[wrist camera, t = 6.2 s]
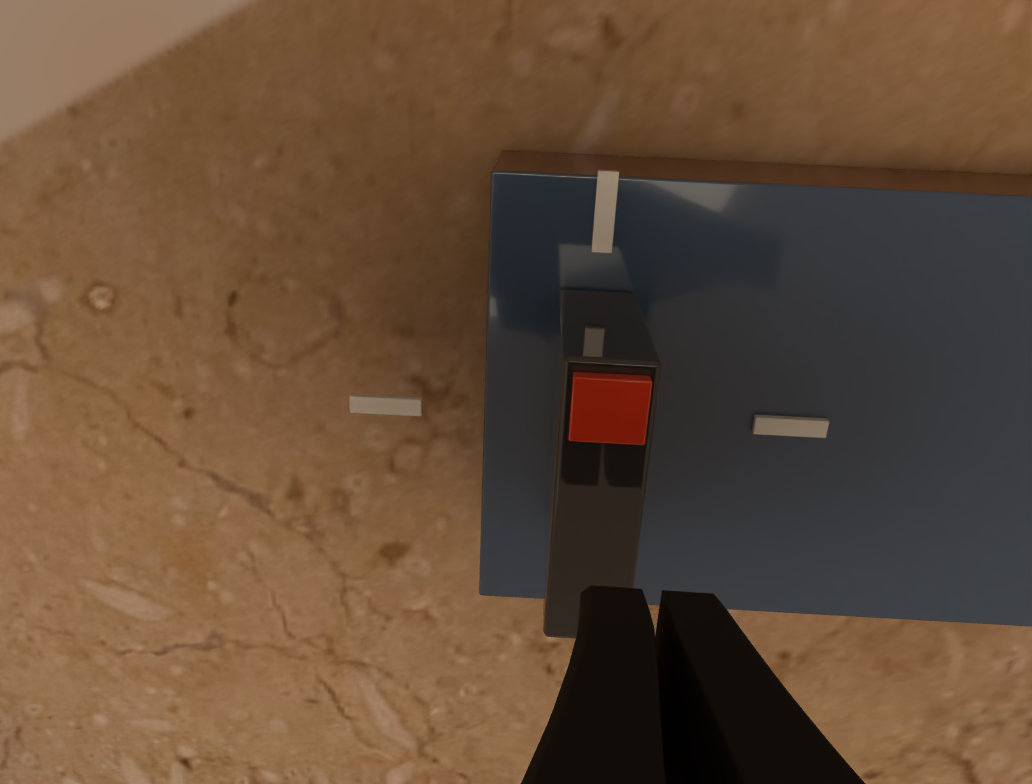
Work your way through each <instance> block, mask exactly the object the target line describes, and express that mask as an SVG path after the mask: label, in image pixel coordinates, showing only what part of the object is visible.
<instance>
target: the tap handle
mask: <svg viewBox="0 0 1032 784" xmlns="http://www.w3.org/2000/svg"><path fill="white" fill-rule="evenodd" d="M660 374H661V363H660V360H659V357H658V354H657V352H656V349H655V346H654V343H653V341H652V338H651V335H650V332H649V330H648V327H647V324H646V321H645V319H644V316H643V313H642V310H641V308H640V305H639V302H638V299H637V297H636V294H633V293H623V292H604V291H584V290H562V291H561V292H560V293H559V304H558V319H557V334H556V349H555V364H554V379H553V394H552V409H551V424H550V438H549V453H548V468H547V483H546V498H545V513H544V599H543V631H544V634H545V636H548V637H559V638H576V636H577V626H578V615H579V604H580V593H581V592H582V591H584V590H585V589H586V588H588V587H589V586H591V585H594V586H609V587H624V588H634V581H635V573H636V565H637V557H638V549H639V541H640V533H641V525H642V517H643V510H644V502H645V494H646V486H647V478H648V470H649V462H650V454H651V446H652V438H653V430H654V422H655V414H656V406H657V398H658V390H659V382H660Z"/></svg>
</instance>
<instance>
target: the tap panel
mask: <svg viewBox="0 0 1032 784" xmlns="http://www.w3.org/2000/svg"><path fill="white" fill-rule="evenodd" d="M562 290H584V291H604V292H623V293H633V294H636V297H637V299H638V302H639V305H640V308H641V310H642V313H643V316H644V319H645V321H646V324H647V327H648V330H649V332H650V335H651V338H652V341H653V343H654V346H655V349H656V352H657V354H658V357H659V360H660V363H661V374H660V382H659V390H658V398H657V406H656V414H655V422H654V430H653V438H652V446H651V454H650V462H649V470H648V478H647V486H646V494H645V502H644V510H643V517H642V525H641V533H640V541H639V549H638V557H637V565H636V573H635V581H634V588H639V589H642V590H643V593H644V596H645V599H646V602H647V604H648V605H660V599H661V592H662V590H669V591H684V592H699V593H714V594H715V596H716V597H717V598H718V599H719V600H720V601H721V603H722V604H723V605H724V607H725V608H726V609H733V610H750V611H768V612H785V613H803V614H821V615H838V616H856V617H873V618H891V619H909V620H926V621H944V622H961V623H979V624H997V625H1014V626H1032V176H1031V175H1010V174H989V173H968V172H947V171H926V170H905V169H884V168H863V167H842V166H821V165H800V164H779V163H758V162H737V161H716V160H695V159H674V158H653V157H632V156H611V155H590V154H569V153H548V152H527V151H506V150H502V151H501V152H500V154H499V156H498V159H497V161H496V163H495V165H494V167H493V170H492V172H491V192H490V228H489V263H488V299H487V334H486V370H485V405H484V441H483V476H482V511H481V547H480V582H479V593H480V595H486V596H504V597H522V598H539V599H544V513H545V498H546V483H547V468H548V453H549V438H550V424H551V409H552V394H553V379H554V364H555V349H556V334H557V319H558V304H559V293H560V292H561V291H562ZM349 403H350V413H366V414H385V415H403V416H422V413H423V398H422V397H414V396H395V395H376V394H357V393H351V394H350V396H349Z"/></svg>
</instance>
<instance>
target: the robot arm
mask: <svg viewBox="0 0 1032 784" xmlns="http://www.w3.org/2000/svg"><path fill="white" fill-rule="evenodd" d="M521 784H865V783H864V782H863V780H862V779H861V778H860V777H859V776H858V775H857V774H856V773H855V772H854V770H853V769H852V768H851V767H850V766H849V765H848V763H847V762H846V761H845V760H844V759H843V758H842V756H841V755H840V754H839V753H838V752H837V751H836V750H835V748H834V747H833V746H832V745H831V744H830V742H829V741H828V740H827V739H826V738H825V736H824V735H823V734H822V733H821V731H820V730H819V729H818V728H817V727H816V725H815V724H814V723H813V722H812V720H811V719H810V718H809V717H808V716H807V714H806V713H805V712H804V711H803V709H802V708H801V707H800V706H799V705H798V703H797V702H796V701H795V700H794V698H793V697H792V696H791V695H790V693H789V692H788V691H787V690H786V688H785V687H784V686H783V684H782V683H781V682H780V681H779V679H778V678H777V677H776V675H775V674H774V673H773V671H772V670H771V669H770V668H769V666H768V665H767V664H766V662H765V661H764V660H763V658H762V657H761V656H760V654H759V653H758V652H757V650H756V649H755V648H754V646H753V645H752V644H751V642H750V641H749V640H748V638H747V637H746V635H745V634H744V633H743V631H742V630H741V629H740V627H739V626H738V625H737V623H736V622H735V620H734V619H733V618H732V616H731V615H730V613H729V612H728V611H727V609H726V608H725V607H724V605H723V604H722V603H721V601H720V600H719V599H718V598H717V597H716V596H715V594H714V593H699V592H684V591H669V590H662V592H661V599H660V607H659V614H658V621H657V628H656V635H655V631H654V625H653V622H652V618H651V614H650V611H649V607H648V604H647V602H646V599H645V596H644V593H643V590H642V589H639V588H624V587H609V586H594V585H591V586H589V587H588V588H586V589H585V590H584V591H582V592H581V593H580V604H579V615H578V626H577V636H576V640H575V644H574V648H573V652H572V655H571V659H570V663H569V666H568V669H567V672H566V674H565V677H564V680H563V683H562V686H561V689H560V692H559V694H558V697H557V700H556V703H555V706H554V709H553V711H552V714H551V716H550V719H549V721H548V724H547V726H546V728H545V731H544V733H543V735H542V738H541V740H540V742H539V744H538V747H537V749H536V751H535V753H534V756H533V758H532V760H531V762H530V765H529V767H528V769H527V771H526V774H525V776H524V778H523V780H522V782H521Z"/></svg>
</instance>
